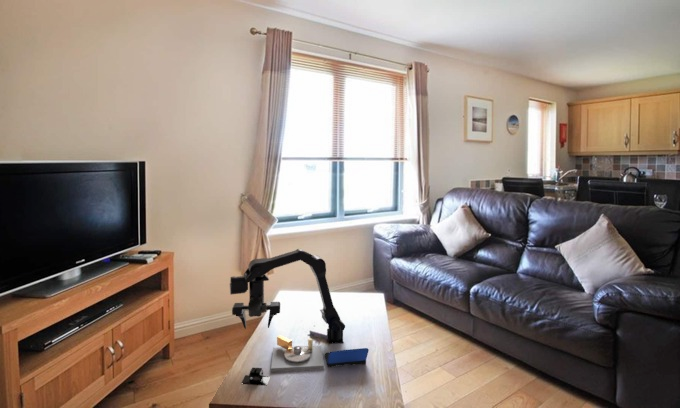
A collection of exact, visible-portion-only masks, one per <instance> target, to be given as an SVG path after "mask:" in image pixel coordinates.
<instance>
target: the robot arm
mask: <svg viewBox="0 0 680 408" xmlns="http://www.w3.org/2000/svg"><path fill="white" fill-rule="evenodd" d="M299 261H301V262H303V263H305V264H307V265H308V266H309V267H310V270H311V271H312V273H313V275H314V277H315V280H316V284H317V287H318V291H319V294H320V298H321V302H322V306H323V307H322V309H319V311H320V313H321V319H323V321H324V322H325V324H327V326H328V328H327V329H326V338H327V342H328V343H329V344H344V330H345V328H346V325H345V323H344V322H343V321H342V320H341V317H340V315H339V313H338V311H337V310H336V307H335V306H334V303H333V300H332V296H331V292H330V288H329V285H328V281H327V277H326V275H327V266H326V262H325V261H326V260H324V259H323V258H322V257H320V256H319V255H317V254H314V255H313V254H311V253H309V252H307V251H305V250H304V249H302V248H297V249H295V250H292V251H289V252H285V253H282V254H279V255H276V256H272V257H267V258H264V257H263V258H262V257H261V258H255V259H252V260H251V261H249V263H248V268H247V269H246V270H245V271H244V273H243V275H242V276H241V275H240V276H230V281H229V293H230V295H238V294H239V295H240V294H246V292H248V291H249V301H248V304H247V305H245V303H244V302H235V303H234V304H233V305H232V308H231V314H232V315H233V316H235V317H238V318H239V319H240V321H241V323H242V325H243V328H244V329H245V330H246V329H247V319H246V317H247V316H246V311H248V316H249V317H250V318H251V317H257V318H258V317H259V318H260V317H261V316H262V314H264V313H266V312H267V311H269V315H268V320H267V321H268V322H267V329H270V325H271V323H272V320H273V318H274V316H277V315H278V314H280V313H281V302H280V301H270V304H267V302H265V289H264V288H265V282H266V281H270V279H269V277H268V276H267V275H266V274H267V273H270V271H272V270H274V269H277V268H279V267H283V266H287V265H289V264H292V263H296V262H299Z"/></svg>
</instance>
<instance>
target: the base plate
mask: <svg viewBox="0 0 680 408" xmlns="http://www.w3.org/2000/svg"><path fill="white" fill-rule="evenodd" d="M307 342H308V343H307V345H303V347H306V348H308V349H309V350H310V352H311V356H310V358H309V359H308V360H307V361H304V362H301V363H292V362H289V361H287V360H286V359H285V357H284V353H285V351H286V350H287V349H285V348H283V347H281V346H278V347H272V357H271V363H270V364H271V367H270V372H271V373H278V372H280V373H281V372H300V371H317V370H325V364H324V362H325V361H324V357H323V350H322V345H314V344H313V338H308V340H307Z"/></svg>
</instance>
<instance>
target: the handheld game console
mask: <svg viewBox="0 0 680 408" xmlns="http://www.w3.org/2000/svg"><path fill="white" fill-rule="evenodd" d="M369 350H370V349H369V348H366V347H364V348H354V349H353V348H352V349H343V350H341V349H340V350H332V351H329V352H328V351H327V352H325V353H324V358H325V364H326V367H327V368H336V367H344V366H355V365H357V366H358V365H360V366H361V365H366V363H367V358H368V354H369Z"/></svg>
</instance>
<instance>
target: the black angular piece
mask: <svg viewBox="0 0 680 408" xmlns="http://www.w3.org/2000/svg"><path fill="white" fill-rule="evenodd" d="M270 378H271V375H264V371H263V368H262V367H252V368H251V369H250V372H249V374H245V375H244V377H243V379H242V381H241V383H243V384H242V385H246V386H247V385H248V386H249V385H251V386H267V385H268V384H269V381H270Z"/></svg>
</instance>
